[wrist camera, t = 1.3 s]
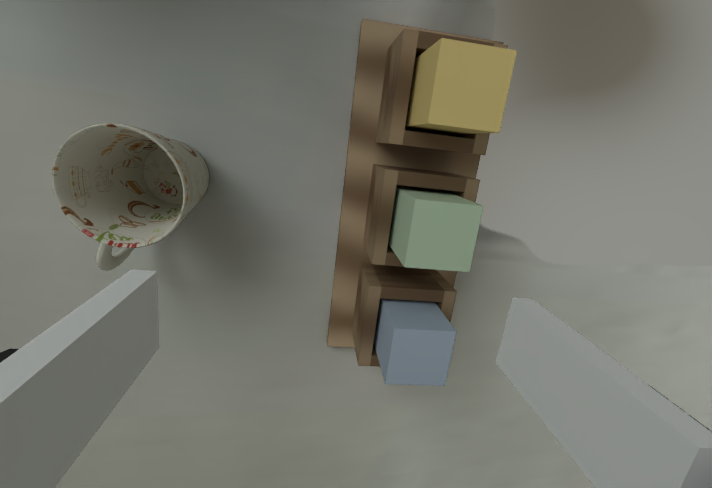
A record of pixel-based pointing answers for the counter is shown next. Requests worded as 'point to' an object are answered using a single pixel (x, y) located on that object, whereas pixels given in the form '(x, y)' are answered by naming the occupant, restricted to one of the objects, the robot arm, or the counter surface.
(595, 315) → the counter surface
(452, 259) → the button sage
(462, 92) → the button ochre
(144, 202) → the mug
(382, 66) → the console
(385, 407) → the counter surface
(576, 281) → the counter surface
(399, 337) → the button slate
